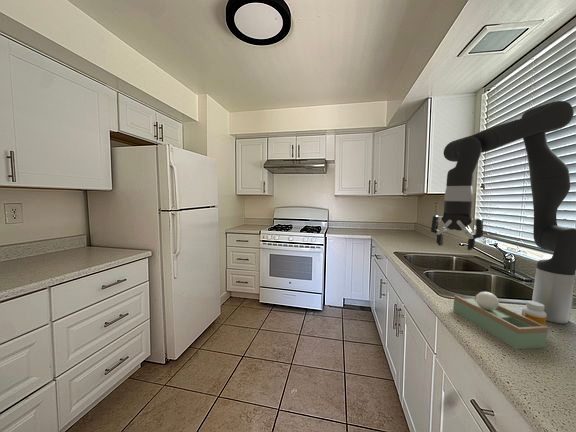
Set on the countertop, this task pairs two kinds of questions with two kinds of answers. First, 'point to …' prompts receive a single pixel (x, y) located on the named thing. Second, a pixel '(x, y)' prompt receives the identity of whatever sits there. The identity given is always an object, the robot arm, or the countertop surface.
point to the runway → (503, 324)
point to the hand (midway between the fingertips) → (454, 247)
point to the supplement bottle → (534, 312)
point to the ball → (487, 300)
